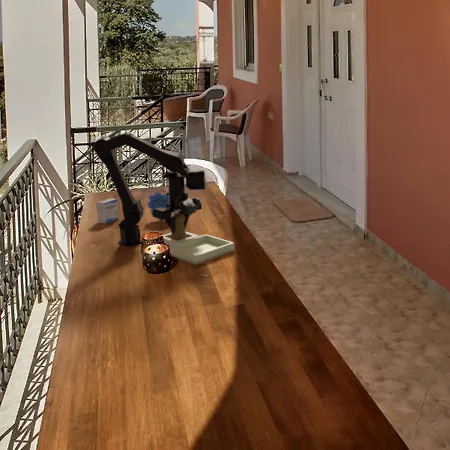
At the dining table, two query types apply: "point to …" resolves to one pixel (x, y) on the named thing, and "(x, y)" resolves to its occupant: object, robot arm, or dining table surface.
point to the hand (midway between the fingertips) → (178, 232)
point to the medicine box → (107, 210)
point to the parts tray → (201, 249)
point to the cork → (179, 227)
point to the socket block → (171, 241)
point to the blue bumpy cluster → (158, 201)
